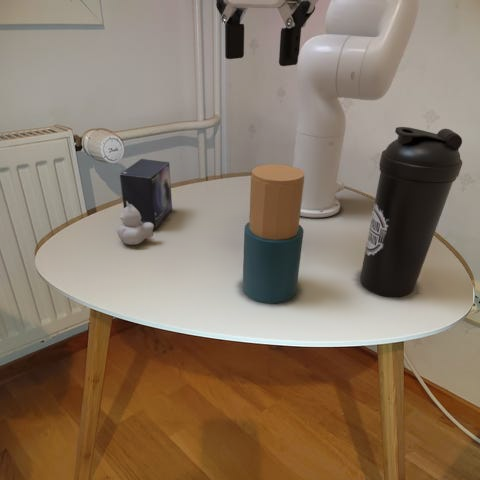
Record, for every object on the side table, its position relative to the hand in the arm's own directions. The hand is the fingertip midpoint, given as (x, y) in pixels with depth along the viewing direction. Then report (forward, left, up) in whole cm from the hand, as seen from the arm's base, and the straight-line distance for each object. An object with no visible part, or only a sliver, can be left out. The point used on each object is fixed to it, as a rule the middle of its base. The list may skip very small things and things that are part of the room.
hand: (260, 61), depth 57 cm
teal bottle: (+6, +10, -29) cm, 31 cm away
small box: (+4, -24, -29) cm, 38 cm away
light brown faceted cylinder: (+7, +10, -19) cm, 23 cm away
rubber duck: (+12, -17, -29) cm, 36 cm away
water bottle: (-9, +22, -29) cm, 38 cm away
